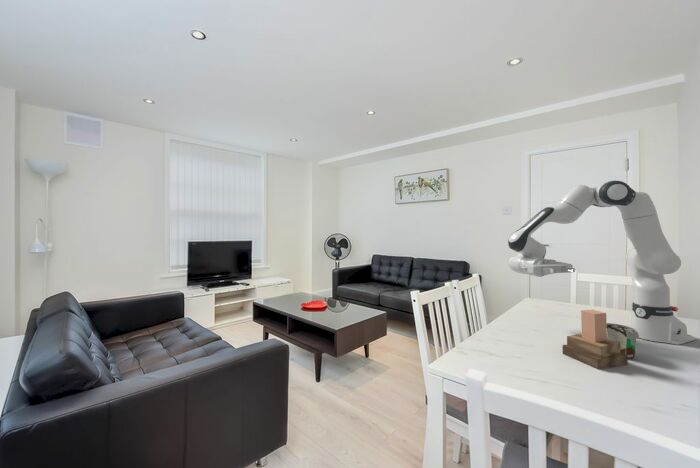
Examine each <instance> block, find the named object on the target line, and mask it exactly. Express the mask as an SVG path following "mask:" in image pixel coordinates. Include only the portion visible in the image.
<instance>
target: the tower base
mask: <svg viewBox="0 0 700 468" xmlns="http://www.w3.org/2000/svg"><path fill="white" fill-rule="evenodd" d="M562 355H564V356H566V357H568V358H570V359H573V360H576V361H578V362H580V363H582V364H584V365H587V366H588V367H592V369H593V368H594V369H596V370H602V369H604V370H605V369H609V368H616V367H625V366H629V363H628V362H629V361H628V360H629V359H628V355H625V354H622V353H620V354H616V355H612V356H608V357H605V358H598V357H595V356H592V355H589V354H586V353H583V352H580V351H578V350H575V349H572V348H569V347H567V344H562Z"/></svg>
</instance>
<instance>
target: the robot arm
mask: <svg viewBox="0 0 700 468" xmlns="http://www.w3.org/2000/svg"><path fill="white" fill-rule="evenodd" d="M591 206H595V207H599V208H610V207H616V208H617V209H618V210H619V212H620V213H621V217H622V221H623V226H624V231H625V233H626V237H627V238H628V239H629V240H630V242H631V244H632V246H633V247H634V248H633V249H630V250H628V252H627V253H626V254H625V262H626V264H627V266H628V268H629V273H630V277H631V281H632V285H633V286H632V287H633V290H632V291H633V302H632V303H631V308H632V309H631V310H632V312H631V313H630V316H629V324H628V325H629V326H628V327H631V328H634V329H636V330H637V332H638V335H639V338H638V339H642V340H646V341H651V342H656V343H657V342H658V343H667V344H672V345H678V346H679V345H683V344H686V343H689V342H692V341H693V342H694V341H696V340H697V338H696V337H695V336H693V335H691V334H688V327H687V325H686V324H685V322H683V321H681V320H680V319H679V318H678V317H676V315H674V312H675V313H677V312H678V310H679V308H678V307H677V306H672V305H671V303H670V301H671V292H670V291H671V289H670V287H669V285H668V283H667V281H666V279H665V275H671V274H673V273H675V272H677V271H678V270H680V268H681V266H682V260H681V258H680V256H679V255H677V254H676V252H674V250H673V249H672V247H671V245H670V243H669V242H668V240H667V238H666V236H665V234H664V233H663V230H662V226H661V224H660V219H659V217H658V213H657V210H656V206H655V204H654V202H653V200H652V198H651V196H650V195H649V194H648V193H647V192H644V191H635V190H634V189H633V188H632V187H631V186H630V185H628V184H627V183H626V182H624V181H622V180H609V181H605V182H603V183H601V184H598V185H597V186H595V187H593V188H592V187H590V186H588V185H585V184H584V185H583V184H578V185H575V186H574V187H573V188H571V189H570V190H569V191H568V192H566V193H565V194H564V195H563V196H562V197H561V198H560V200H559V201H558V202H556V203H555V204H554V205H552V206H547V207H544V208H542V209H541V210H540V211H539V212H538V213H536V214H535V215H534V216H533V217H531V219H529V220H528V221H527V222H526V223H524V224H523V225H522V226H521V227H520V228H519V229H517V230H515V231H514V232H512V233H511V234H510V235H509V237H508V238H507V245H508V247H509V249H511V250H513V251H514V252H516V253H518V254H516V255H514V256H511V257H510V258H509V259H508V266H509V269H511V271H514V272H515V273H518V274H523V275H529V276H533V277H540V278H541V277H545V276H548V275H554V274H562V273H563V274H564V273H566V274H567V273H575V272H576V268H575V267H574V266H573V264H572V263H568V262H563V261H562V262H561V261H556V260H555V259H549V258H545V256H546V254H547V248H546V246H545V245H544V244H542V243H541V242H540V241H538V240H537V239H536V238H535V239H534V238H533V237H532V235H533V233H534V232H536V231H537V230H538V229H540V228H541V227H542V226H543V225H545V224H546V223H556V224H560V225H561V224H563V225H568V224H573V223H574V222H576V221H578V220H579V218H580V217H581V216H582V215H583V214H584V213H585V211H586V210H587V209H588V208H590V207H591Z"/></svg>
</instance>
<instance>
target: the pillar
mask: <svg viewBox="0 0 700 468" xmlns="http://www.w3.org/2000/svg"><path fill="white" fill-rule="evenodd" d="M580 315H581V316H580V319H581V323H580V325H581V333H582V338H585V339H588V340H590V341H593V342H602V341H607V338H608V337H607V313H606V312H604V311H600V310H595V309H584V310H583V309H582V310H580Z"/></svg>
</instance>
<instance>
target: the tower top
mask: <svg viewBox="0 0 700 468" xmlns="http://www.w3.org/2000/svg"><path fill="white" fill-rule="evenodd" d="M566 345H567V347H569V348H572V349H575V350H578V351H580V352H583V353H586V354H589V355H592V356H595V357H598V358H605V357H608V356H612V355H616V354H620V342H618V341H615V340H611V339H608V337H607V341H602V342H593V341H590V340H588V339H585V338H582V332H581V333H577V334H571V335H567V336H566Z"/></svg>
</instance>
